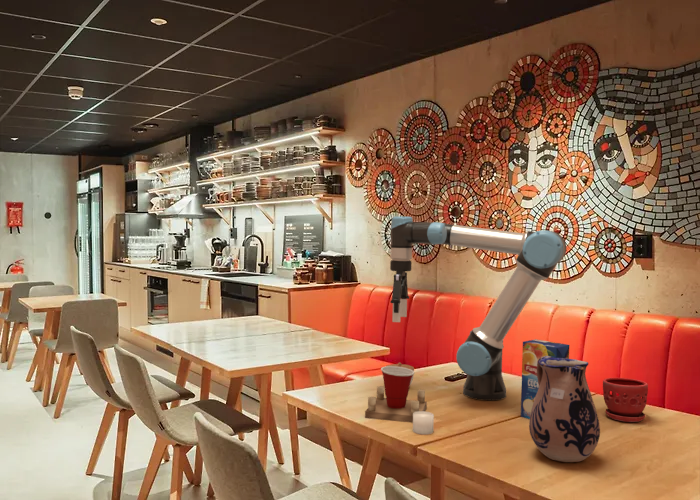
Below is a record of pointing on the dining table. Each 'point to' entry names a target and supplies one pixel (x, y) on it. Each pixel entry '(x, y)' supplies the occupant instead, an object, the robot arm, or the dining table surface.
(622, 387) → the plant pot
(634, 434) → the dining table surface
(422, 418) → the marshmallow
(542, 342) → the juice carton
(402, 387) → the plastic cup
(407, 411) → the stand
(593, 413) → the ceramic pitcher
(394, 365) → the lidded jar
